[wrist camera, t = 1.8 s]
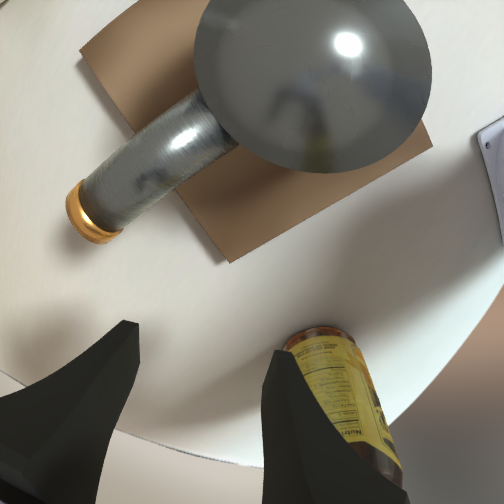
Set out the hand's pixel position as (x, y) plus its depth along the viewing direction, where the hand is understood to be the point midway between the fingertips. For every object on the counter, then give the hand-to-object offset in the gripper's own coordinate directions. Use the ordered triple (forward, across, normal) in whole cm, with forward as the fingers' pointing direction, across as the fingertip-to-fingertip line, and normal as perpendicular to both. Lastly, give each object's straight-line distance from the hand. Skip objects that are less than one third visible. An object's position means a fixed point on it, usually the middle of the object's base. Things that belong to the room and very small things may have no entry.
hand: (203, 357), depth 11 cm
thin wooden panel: (+9, 0, -10) cm, 14 cm away
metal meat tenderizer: (+6, +1, -8) cm, 10 cm away
